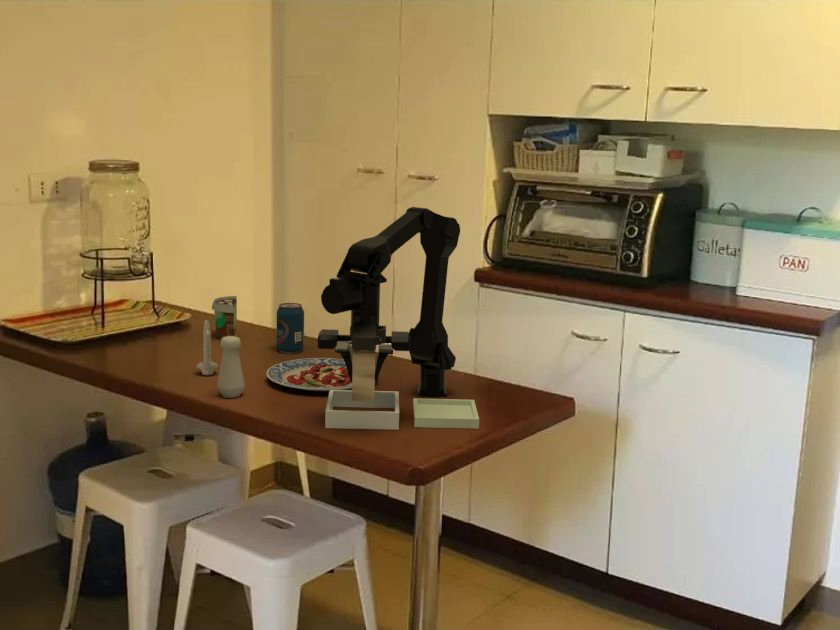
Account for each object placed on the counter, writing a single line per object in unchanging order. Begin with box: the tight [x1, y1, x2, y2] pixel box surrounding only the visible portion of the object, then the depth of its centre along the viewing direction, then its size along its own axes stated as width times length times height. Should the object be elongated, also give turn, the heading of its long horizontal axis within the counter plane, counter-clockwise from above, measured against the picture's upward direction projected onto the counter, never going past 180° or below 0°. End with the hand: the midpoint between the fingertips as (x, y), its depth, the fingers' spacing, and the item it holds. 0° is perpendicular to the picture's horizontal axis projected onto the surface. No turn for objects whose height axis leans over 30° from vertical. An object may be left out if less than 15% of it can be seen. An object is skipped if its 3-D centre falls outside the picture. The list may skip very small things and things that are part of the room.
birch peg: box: [351, 349, 377, 401], centre depth 205 cm, size 4×4×10 cm
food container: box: [211, 295, 238, 341], centre depth 268 cm, size 12×6×10 cm, turn 6°
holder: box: [324, 389, 400, 431], centre depth 207 cm, size 15×15×4 cm
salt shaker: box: [217, 336, 246, 399], centre depth 218 cm, size 6×6×13 cm
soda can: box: [276, 302, 305, 355], centre depth 256 cm, size 7×7×12 cm
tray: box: [412, 397, 480, 430], centre depth 209 cm, size 13×13×2 cm
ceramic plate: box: [266, 357, 353, 392], centre depth 232 cm, size 26×26×3 cm
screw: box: [196, 319, 219, 376], centre depth 233 cm, size 13×5×5 cm
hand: (363, 380), depth 206 cm, fingers closed on birch peg, 4 cm apart
